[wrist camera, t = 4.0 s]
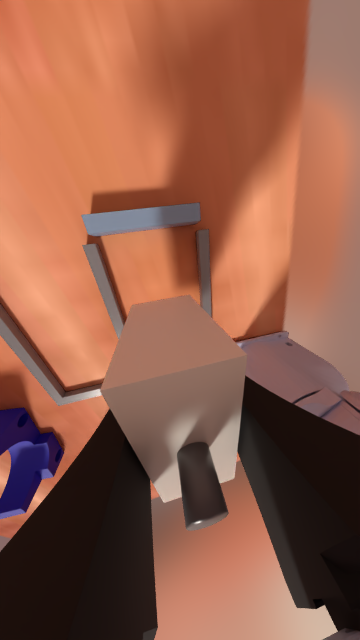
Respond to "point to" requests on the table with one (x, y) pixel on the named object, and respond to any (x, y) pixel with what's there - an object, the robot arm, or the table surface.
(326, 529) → the robot arm
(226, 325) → the table surface
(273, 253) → the table surface
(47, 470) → the cable clip
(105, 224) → the blue-grey bar
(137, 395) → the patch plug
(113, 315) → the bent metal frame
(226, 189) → the table surface
